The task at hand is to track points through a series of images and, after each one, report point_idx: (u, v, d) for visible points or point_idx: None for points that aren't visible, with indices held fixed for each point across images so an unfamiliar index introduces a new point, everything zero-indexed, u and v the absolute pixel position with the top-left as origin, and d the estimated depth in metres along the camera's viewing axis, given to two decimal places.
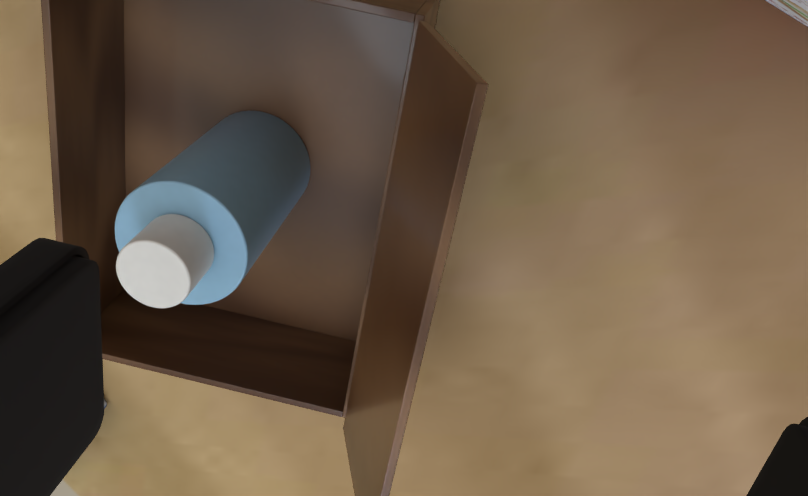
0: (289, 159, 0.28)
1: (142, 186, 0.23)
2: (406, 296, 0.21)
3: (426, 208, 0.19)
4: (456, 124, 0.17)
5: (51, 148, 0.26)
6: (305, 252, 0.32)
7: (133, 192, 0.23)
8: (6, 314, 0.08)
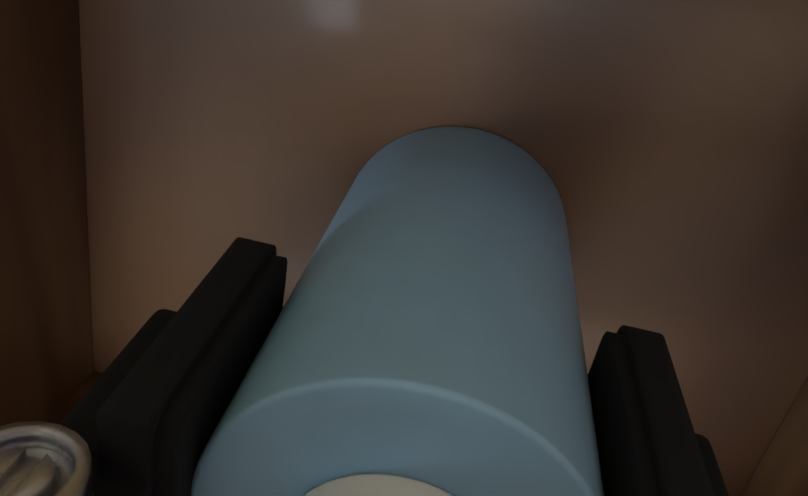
0: None
1: None
2: None
3: None
4: None
5: None
6: None
7: (577, 480, 0.07)
8: (236, 305, 0.09)
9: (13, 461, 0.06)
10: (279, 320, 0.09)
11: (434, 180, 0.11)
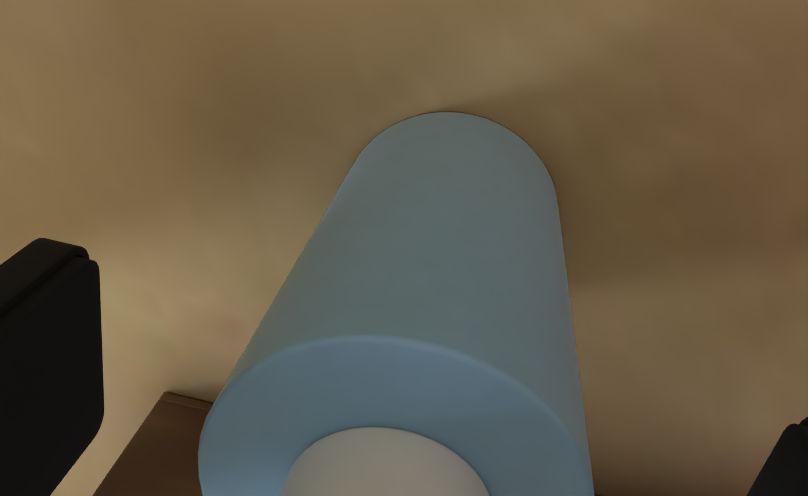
0: None
1: (580, 455, 0.07)
2: None
3: None
4: None
5: None
6: None
7: (562, 430, 0.07)
8: (6, 314, 0.08)
9: None
10: (281, 290, 0.09)
11: (429, 160, 0.12)
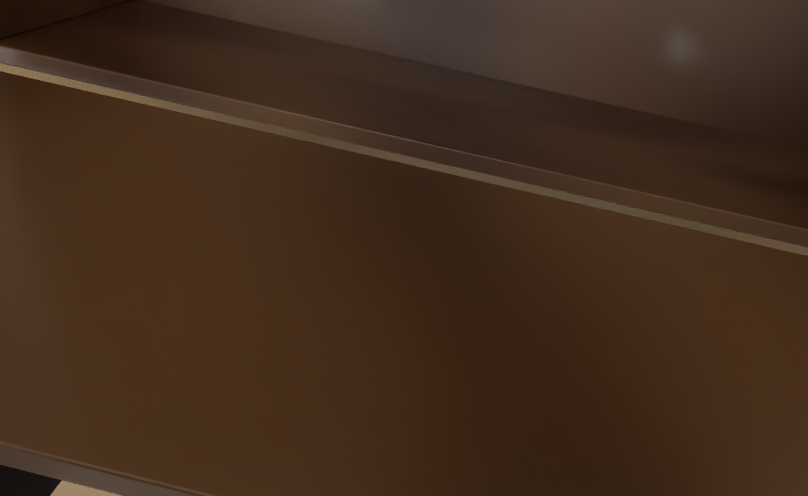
0: None
1: None
2: (563, 422, 0.07)
3: None
4: None
5: None
6: None
7: None
8: None
9: None
10: None
11: None
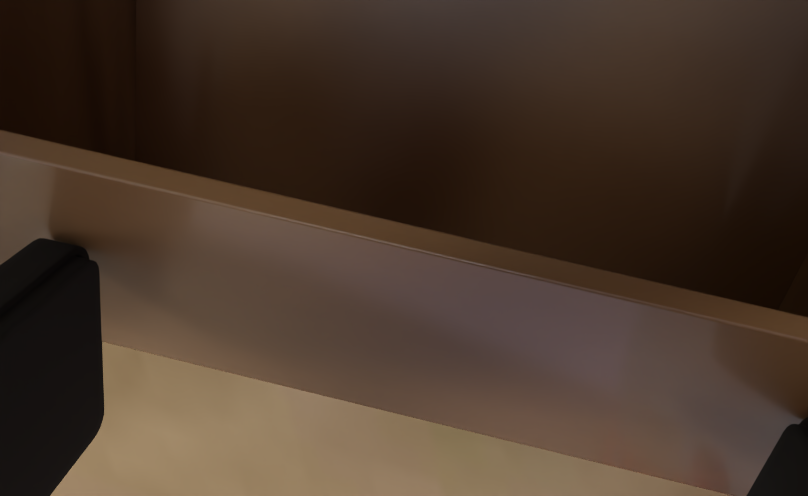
0: None
1: None
2: None
3: None
4: None
5: None
6: (311, 84, 0.16)
7: None
8: (6, 314, 0.08)
9: None
10: None
11: None
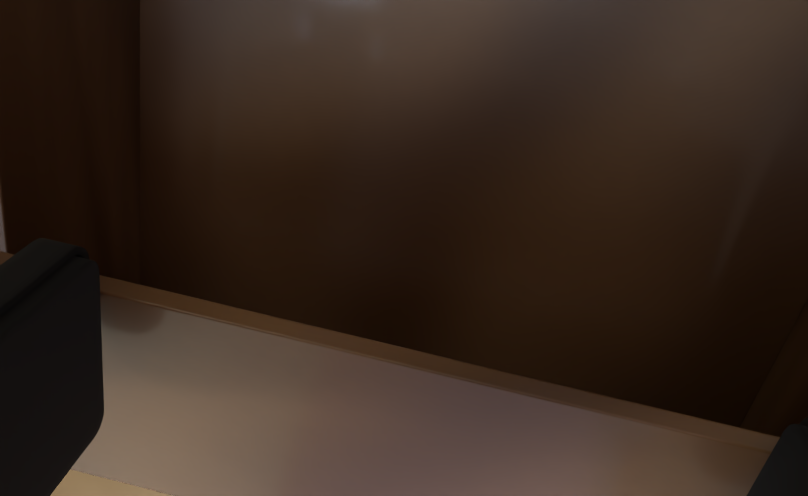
0: None
1: None
2: None
3: None
4: None
5: None
6: (303, 216, 0.17)
7: None
8: (6, 314, 0.08)
9: None
10: None
11: None
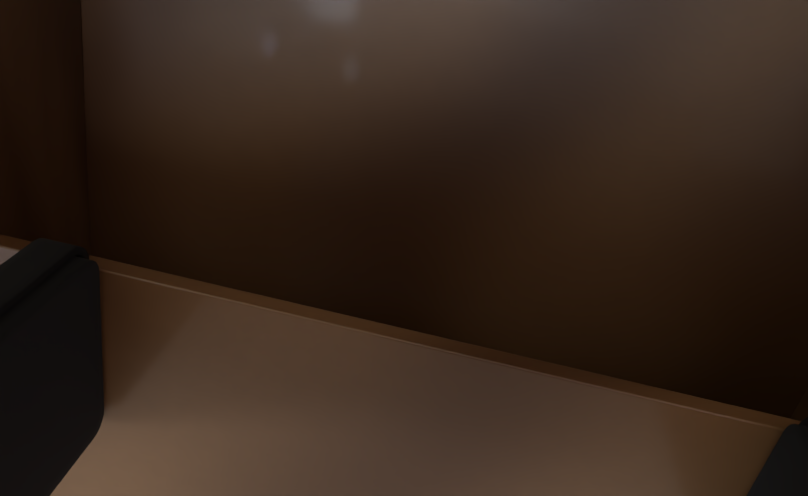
0: None
1: None
2: None
3: None
4: None
5: None
6: (271, 248, 0.15)
7: None
8: (6, 314, 0.08)
9: None
10: None
11: None
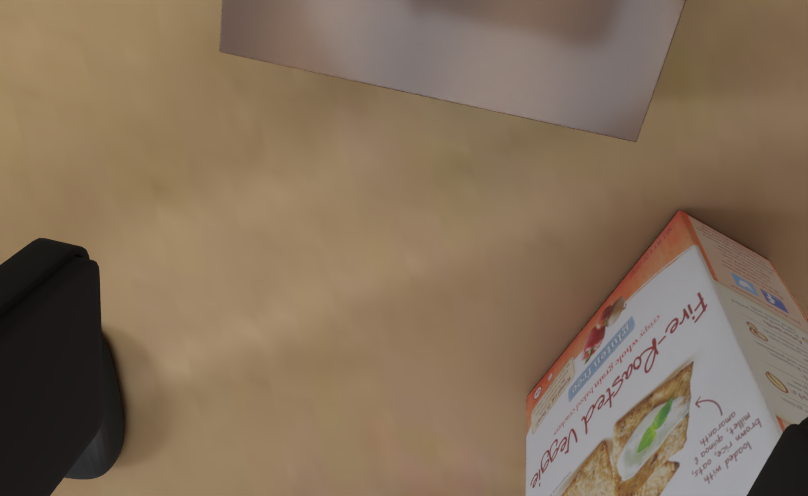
0: None
1: None
2: None
3: None
4: None
5: None
6: None
7: None
8: (6, 314, 0.08)
9: None
10: None
11: None
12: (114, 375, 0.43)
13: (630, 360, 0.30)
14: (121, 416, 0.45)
